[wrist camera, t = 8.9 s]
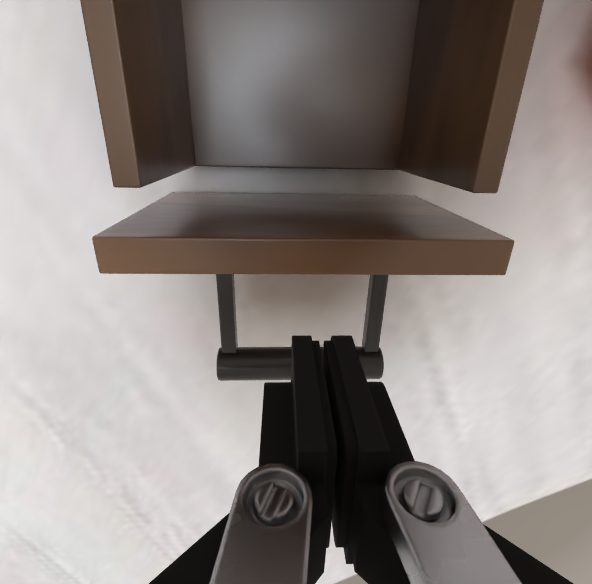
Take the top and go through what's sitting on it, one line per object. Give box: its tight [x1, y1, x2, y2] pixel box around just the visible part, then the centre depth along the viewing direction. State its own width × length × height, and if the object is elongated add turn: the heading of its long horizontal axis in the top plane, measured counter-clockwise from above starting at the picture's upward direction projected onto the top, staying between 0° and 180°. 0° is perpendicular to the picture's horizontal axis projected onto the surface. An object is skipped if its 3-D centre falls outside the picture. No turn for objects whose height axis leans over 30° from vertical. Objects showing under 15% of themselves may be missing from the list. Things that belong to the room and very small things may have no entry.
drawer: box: [80, 0, 544, 381], centre depth 13 cm, size 23×13×9 cm, turn 179°
